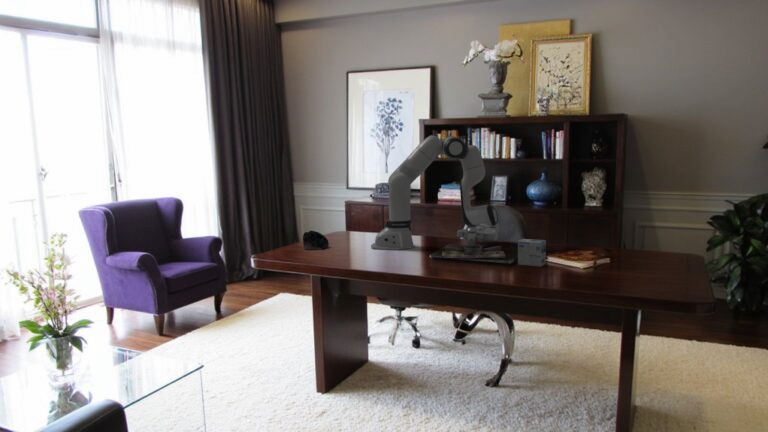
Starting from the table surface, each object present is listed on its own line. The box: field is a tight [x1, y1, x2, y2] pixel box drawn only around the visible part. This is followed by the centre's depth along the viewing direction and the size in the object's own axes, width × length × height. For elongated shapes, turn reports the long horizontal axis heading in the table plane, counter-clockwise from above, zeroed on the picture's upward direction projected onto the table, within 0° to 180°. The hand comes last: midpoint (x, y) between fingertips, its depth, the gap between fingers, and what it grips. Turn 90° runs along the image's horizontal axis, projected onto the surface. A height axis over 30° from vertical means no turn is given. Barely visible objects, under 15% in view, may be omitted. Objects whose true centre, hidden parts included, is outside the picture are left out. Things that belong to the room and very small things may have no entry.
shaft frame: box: [441, 244, 506, 257], centre depth 263 cm, size 29×10×5 cm, turn 82°
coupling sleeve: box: [466, 226, 477, 245], centre depth 275 cm, size 5×5×10 cm
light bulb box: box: [517, 238, 547, 268], centre depth 244 cm, size 11×7×11 cm, turn 58°
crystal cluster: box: [302, 230, 330, 251], centre depth 295 cm, size 13×14×10 cm
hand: (471, 237), depth 275 cm, fingers closed on coupling sleeve, 4 cm apart
